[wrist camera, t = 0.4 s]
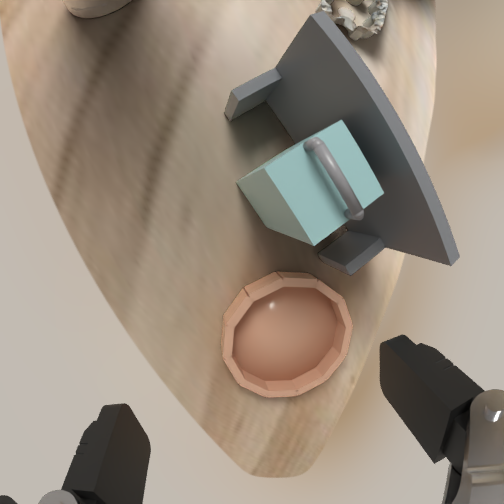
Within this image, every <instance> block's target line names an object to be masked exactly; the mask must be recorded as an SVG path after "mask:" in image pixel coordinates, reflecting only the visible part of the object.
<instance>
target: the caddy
mask: <svg viewBox="0 0 504 504" xmlns="http://www.w3.org/2000/svg"><path fill="white" fill-rule="evenodd" d="M236 183H237V185H238V186H239V188H240V189H241V190H242V192H243V193H244V195H245V196H246V198H247V199H248V201H249V202H250V204H251V205H252V207H253V208H254V210H255V211H256V213H257V214H258V216H259V217H260V219H261V220H262V222H263V223H264V225H265V226H266V227H267V228H269V229H272V230H274V231H277V232H280V233H282V234H285V235H287V236H290V237H293V238H295V239H298V240H300V241H303V242H305V243H308V244H310V245H313V246H315V245H316V244H317V243H319V242H320V241H321V240H323V239H324V238H326V237H327V236H328V235H330V234H331V233H332V232H334V231H335V230H336V229H338V228H339V227H340V226H342V225H343V224H344V223H346V222H347V221H348V220H350V219H352V220H362V219H363V217H364V210H363V209H364V208H365V207H367V206H368V205H369V204H371V203H372V202H373V201H374V200H376V199H377V198H378V197H380V196H381V195H382V194H384V192H383V190H382V188H381V186H380V184H379V182H378V180H377V179H376V177H375V175H374V173H373V171H372V169H371V168H370V166H369V164H368V162H367V161H366V159H365V157H364V155H363V154H362V152H361V150H360V148H359V147H358V145H357V143H356V142H355V140H354V138H353V137H352V135H351V133H350V132H349V130H348V129H347V127H346V125H345V124H344V122H343V121H342V120H340V121H338V122H336V123H334V124H332V125H330V126H328V127H327V128H325V129H323V130H321V131H319V132H317V133H315V134H313V135H311V136H310V137H308V138H306V139H304V140H302V141H300V142H299V143H297V144H295V145H293V146H291V147H290V148H288V149H286V150H284V151H283V152H281V153H280V154H278V155H276V156H275V157H273V158H272V159H270V160H269V161H267V162H265V163H264V164H262V165H261V166H259V167H258V168H256V169H255V170H253V171H252V172H250V173H249V174H247V175H246V176H244V177H243V178H241V179H240V180H238V181H237V182H236Z"/></svg>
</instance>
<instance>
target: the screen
mask: <svg viewBox="0 0 504 504" xmlns="http://www.w3.org/2000/svg"><path fill="white" fill-rule="evenodd" d="M264 101H266V102H267V103H268V104H269V106H270V107H271V109H272V110H273V112H274V113H275V114H276V116H277V117H278V119H279V120H280V122H281V123H282V124H283V126H284V127H285V129H286V130H287V132H288V133H289V135H290V136H291V138H292V139H293V141H294V142H295V144H297V143H299V142H300V141H302V140H304V139H306V138H308V137H310V136H311V135H313V134H315V133H317V132H319V131H321V130H323V129H325V128H327V127H328V126H330V125H332V124H334V123H336V122H338V121H340V120H342V121H343V122H344V124H345V125H346V127H347V129H348V130H349V132H350V133H351V135H352V137H353V138H354V140H355V142H356V143H357V145H358V147H359V148H360V150H361V152H362V154H363V155H364V157H365V159H366V161H367V162H368V164H369V166H370V168H371V169H372V171H373V173H374V175H375V177H376V179H377V180H378V182H379V184H380V186H381V188H382V190H383V192H384V194H382V195H381V196H380V197H378V198H377V199H376V200H374V201H373V202H372V203H371V204H369V205H368V206H367V207H365V208H364V209H363V210H364V217H363V219H362V220H352V219H350V220H348V221H347V222H346V223H344V224H345V226H346V227H347V229H348V231H347V232H346V233H344V234H343V235H342V236H340V237H339V238H338V239H336V240H335V241H334V242H332V243H331V244H330V245H328V246H327V247H326V248H324V249H323V250H322V251H320V252H319V253H318V255H319V257H320V259H321V260H322V262H324V263H326V264H328V265H330V266H332V267H334V268H336V269H338V270H340V271H342V272H344V273H346V274H348V275H350V276H351V275H352V274H354V273H355V272H356V271H357V270H359V269H360V268H361V267H362V266H364V265H365V264H366V263H367V262H368V261H370V260H371V259H372V258H373V257H375V256H376V255H377V254H378V253H379V252H381V251H382V250H383V249H384V248H385V247H386V248H390V249H393V250H397V251H400V252H404V253H408V254H411V255H415V256H418V257H422V258H425V259H429V260H432V261H436V262H439V263H442V264H446V265H450V266H452V264H454V262H455V261H456V260H457V259H458V258H459V253H458V250H457V247H456V243H455V241H454V238H453V235H452V232H451V229H450V226H449V224H448V221H447V219H446V216H445V213H444V210H443V208H442V205H441V203H440V200H439V198H438V196H437V194H436V191H435V189H434V186H433V184H432V182H431V179H430V177H429V175H428V173H427V171H426V169H425V166H424V164H423V162H422V160H421V158H420V156H419V154H418V152H417V150H416V148H415V146H414V144H413V142H412V140H411V138H410V136H409V135H408V133H407V131H406V129H405V127H404V125H403V124H402V122H401V120H400V118H399V117H398V115H397V113H396V111H395V110H394V108H393V106H392V105H391V103H390V101H389V100H388V98H387V96H386V95H385V93H384V92H383V90H382V88H381V87H380V85H379V84H378V82H377V81H376V79H375V78H374V76H373V75H372V73H371V72H370V70H369V69H368V67H367V66H366V64H365V63H364V62H363V60H362V59H361V57H360V56H359V55H358V53H357V52H356V50H355V49H354V48H353V46H352V45H351V44H350V42H349V41H348V40H347V39H346V37H345V36H344V35H343V33H342V32H341V31H340V30H339V28H338V27H337V26H336V25H335V23H334V22H333V21H332V20H331V19H330V17H329V16H328V15H327V14H326V13H325V12H324V11H321V12H318V13H315V14H312V15H310V16H309V18H308V19H307V21H306V22H305V24H304V25H303V26H302V28H301V29H300V31H299V32H298V34H297V35H296V37H295V38H294V40H293V41H292V43H291V44H290V46H289V47H288V49H287V50H286V52H285V53H284V55H283V56H282V58H281V59H280V61H279V63H278V64H277V66H276V67H275V68H274V69H272V70H270V71H268V72H266V73H264V74H262V75H260V76H258V77H256V78H254V79H252V80H250V81H248V82H246V83H244V84H243V85H241V86H239V87H237V88H235V89H233V90H232V91H231V93H230V96H229V99H228V102H227V105H226V108H225V112H224V113H225V115H226V116H227V118H228V119H229V120H230V121H231V120H233V119H235V118H236V117H238V116H240V115H241V114H243V113H245V112H247V111H248V110H250V109H252V108H254V107H255V106H257V105H259V104H261V103H262V102H264Z"/></svg>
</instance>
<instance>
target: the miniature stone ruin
mask: <svg viewBox="0 0 504 504" xmlns="http://www.w3.org/2000/svg"><path fill="white" fill-rule="evenodd" d="M333 1H334V0H321V3H320V4H319V5H318V7H317V9H316V12H317V13H318V12H321V11H324V12H325V13H326V14H327V15H328V16H329V17H330V19H331V20H332V21H333V22H334V23H335V24H339V25H342V26H344V27H345V28H346V29H347V31H348V33H349V37H350V38H352V39H353V40H355V41H357V40H358V39H359V38H364V39H367V38H368V37H370V36H372V35H373V34H374V33H376V34H378V33H379V32H380V31H381V28H382V26H383V23H384V19H385V18H384V17H385V15H386V10H387V8H388V1H387V0H375V1H374V2H373V3H372V4H371V5H370V6H369V7H368V12H369V13H370V15H371V16H370V17H368V18H367V19H366V20H365V21H364V22H363V26H358V27H356V24H355V23H354V22H353V21H354V20H355V15H354V13H353V12H352V11H351V10H350V9H348V8H346V7H341V8H339V9H338V14H339V16H340V17H335V16H333V15H332V14H331V13H332V10H331V9H332V8H331V6H330V4H331V3H332V2H333ZM346 1H347V2H349V3H350V4H352V5H355V6H357V5H360V4H361V3H362V2H363V1H364V0H346Z"/></svg>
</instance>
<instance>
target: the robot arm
mask: <svg viewBox="0 0 504 504" xmlns="http://www.w3.org/2000/svg"><path fill="white" fill-rule="evenodd" d="M62 1H63V2H64V4H65V5H66V7H67V8H68V10H69V11H70V12H71V13H72V14H73V15H75V16H77V17H80V18H95V17H100V16H103V15H106V14H109V13H112V12H114V11H116V10H118V9H120V8H121V7H123V6H125V5H126V4H127V3H129V2H130V1H131V0H62ZM380 384H381V389H382V391H383V394H384V396H385V397H386V398H387V400H388V401H389V403H390V404H391V405H392V407H393V408H394V409H395V411H396V412H397V413H398V415H399V416H400V417H401V419H402V420H403V422H404V423H405V424H406V426H407V427H408V428H409V430H410V431H411V432H412V434H413V435H414V436H415V437H416V439H417V441H418V442H419V443H420V445H421V446H422V447H423V449H424V450H425V452H426V453H427V454H428V456H429V457H430V458H431V460H432V461H433V463H434V464H435V463H436V462H438V461H440V460H442V459H443V458H445V457H447V459H448V460H449V461H450V465H449V468H448V475H447V481H446V486H445V491H444V497H443V501H442V504H504V391H503V390H497V389H493V390H488V391H484V390H483V389H482V388H481V387H480V386H478V385H477V384H476V383H475V382H473V380H472V379H470V378H469V377H468V376H467V375H466V374H465V373H463V372H462V371H461V370H460V369H459V368H458V367H457V366H454V365H453V363H452V362H451V361H450V360H448V359H445V356H443V355H442V354H441V353H440V352H439V351H438V350H437V349H435V348H433V347H430V346H428V345H425V344H422V343H420V344H418V345H416V344H415V343H413V342H412V341H411V340H410V339H409V338H408V337H407V336H405V335H400V336H398V337H395V338H392V339H390V340H387V341H384V342H382V343H381V344H380ZM150 452H151V448H150V442H149V439H148V436H147V434H146V433H145V431H144V430H143V428H142V426H141V425H140V423H139V422H138V420H137V418H136V417H135V415H134V413H133V412H132V410H131V408H130V407H129V405H127V404H114V405H105V406H103V407H102V409H101V412H100V414H99V417H98V419H97V421H93V423H91V425H90V426H89V427H88V428H87V429H86V430H85V431H84V433H83V436H82V438H81V441H80V445H79V446H78V448H77V450H76V455H74V458H73V460H72V463H71V465H70V468H69V471H68V473H67V476H66V478H65V481H64V484H63V486H62V489H61V490H55V491H52V492H49V493H47V494H46V495H44V497H42V499H41V500H40V502H39V503H38V504H142V502H143V496H144V489H145V483H146V476H147V470H148V464H149V458H150ZM0 504H17V503H16V502H15V501H14V500H13V499H12V498H10V497H9V496H5V495H4V496H3V495H1V496H0Z"/></svg>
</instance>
